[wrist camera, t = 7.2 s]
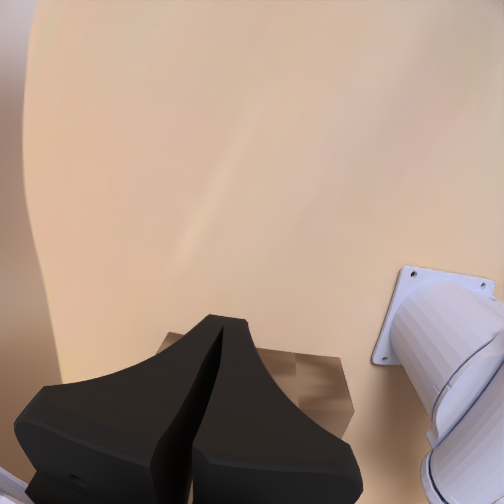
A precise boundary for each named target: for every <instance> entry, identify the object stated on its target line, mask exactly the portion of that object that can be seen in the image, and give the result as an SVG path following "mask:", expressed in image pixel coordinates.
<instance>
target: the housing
mask: <svg viewBox="0 0 504 504" xmlns="http://www.w3.org/2000/svg"><path fill="white" fill-rule="evenodd" d="M183 336H184V335H181V334H176V333H171V332H169V333H168V334H167V336H166V338H165V339H164V341H163V343H162V345H161V346H160V348H159V350H158V351H157V353H156V354H158V353H160V352H161V351H163V350H164V349H166V348H167V347H169V346H170V345H172V344H173V343H175V342H176V341H177V340H179V339H180V338H181V337H183ZM256 349H257V352H258V354H259V356H260V358H261V360H262V362H263V363H264V365H265V367H266V368H267V370H268V372H269V373H270V375H271V376H272V378H273V379H274V381H275V382H276V383H277V385H278V386H279V387H280V389H281V390H282V391H283V392H284V393H285V394H286V396H287V397H288V398H289V399H290V400H291V401H292V402H293V403H294V404H295V405H296V406H297V407H298V408H299V409H300V410H301V411H302V412H303V413H304V414H306V415H307V416H308V417H309V418H311V419H312V420H313V421H314V422H316V423H317V424H318V425H319V426H321V427H322V428H324V429H325V430H327V431H328V432H330V433H332V434H333V435H335V436H336V437H338V438H339V439H341V438H342V436H343V434H344V432H345V430H346V428H347V426H348V424H349V422H350V420H351V418H352V416H353V414H354V412H355V411H354V408H353V404H352V400H351V397H350V393H349V389H348V386H347V382H346V379H345V375H344V372H343V368H342V365H341V361H340V358H337V357H327V356H317V355H308V354H299V353H291V352H283V351H275V350H268V349H261V348H256ZM192 502H193V481H192V484H191V490H190V495H189V500H188V504H192Z"/></svg>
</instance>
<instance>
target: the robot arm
mask: <svg viewBox="0 0 504 504" xmlns="http://www.w3.org/2000/svg"><path fill="white" fill-rule="evenodd" d="M413 271H415V274H414V276H411V273H412V272H413ZM482 283H483V285H482ZM481 285H482V286H481ZM494 288H495V282H494V281H492V280H490V279H484V278H478V277H473V276H467V275H461V274H455V273H450V272H444V271H438V270H432V269H426V268H420V267H414V266H408V265H407V266H404V267H402V268H401V270H400V273H399V277H398V280H397V284H396V287H395V290H394V294H393V297H392V300H391V303H390V307H389V310H388V313H387V316H386V319H385V322H384V325H383V328H382V330H381V333H380V336H379V339H378V342H377V344H376V347H375V350H374V352H373V355H372V361H373V363H374V364H381V365H402V366H403V368H404V369H405V371H406V373H407V375H408V377H409V379H410V381H411V382H412V384H413V386H414V388H415V390H416V392H417V394H418V396H419V398H420V400H421V402H422V403H423V405H424V407H425V409H426V411H427V413H428V415H429V417H430V419H431V421H432V425H431V427H430V429H429V430H428V432H427V433H426V437H427V439H428V441H429V443H430V446H431V448H432V449H431V450H430V451H429V452H428V453H427V454H426V455H425V457H424V459H423V461H422V464H421V470H420V476H421V483H422V487H423V490H424V493H425V495H426V498H427V500H428V501H429V503H430V504H504V303H503V302H502V301H501V300H499V299H498V298H497V297H495V296H494V295H493V291H494ZM384 357H386V358H385V359H383V360H382V358H384ZM14 431H15V435H16V437H17V439H18V442H19V444H20V445H21V447H22V449H23V450H24V452H25V454H26V455H27V457H28V458H29V460H30V462H31V463H32V465H33V466H34V468H35V469H36V471H37V472H36V474H35V475H34V477H33V478H32V480H31V482H30V483H29V485H28V484H26V483H24V482H23V481H21V480H20V479H18V478H16V477H15V476H13V475H12V474H10V473H9V472H7V471H5V470H4V469H2V468H1V467H0V504H188V500H189V495H190V490H191V484H192V481H193V502H192V504H354V503H355V502H356V501H357V500H358V499H359V497H360V495H361V494H362V492H363V481H362V477H361V473H360V469H359V466H358V464H357V461H356V459H355V456H354V454H353V452H352V449H351V447H350V445H349V444H348V443H346V442H344V441H343V440H341V439H339V438H338V437H336V436H335V435H333V434H332V433H330V432H328V431H327V430H325V429H324V428H322V427H321V426H319V425H318V424H317V423H316V422H314V421H313V420H312V419H311V418H309V417H308V416H307V415H306V414H304V413H303V412H302V411H301V410H300V409H299V408H298V407H297V406H296V405H295V404H294V403H293V402H292V401H291V400H290V399H289V398H288V397H287V396H286V394H285V393H284V392H283V391H282V390H281V389H280V387H279V386H278V385H277V383H276V382H275V381H274V379H273V378H272V376H271V375H270V373H269V372H268V370H267V368H266V367H265V365H264V363H263V362H262V360H261V358H260V356H259V354H258V352H257V349H256V347H255V345H254V343H253V340H252V337H251V334H250V331H249V327H248V322H247V321H246V320H245V319H238V318H231V317H224V316H218V315H211V314H209V315H208V316H206V317H205V318H204V319H203V320H202V321H201V322H200V323H198V324H197V325H196V326H195V327H194V328H193V329H191V330H190V331H189V332H188V333H186V334H185V335H184V336H183V337H181V338H180V339H179V340H177V341H176V342H175V343H173V344H172V345H170V346H169V347H167V348H166V349H164V350H163V351H161V352H160V353H158V354H156V355H155V356H153V357H151V358H149V359H147V360H145V361H143V362H141V363H139V364H136V365H134V366H131V367H129V368H126V369H123V370H121V371H118V372H115V373H113V374H109V375H106V376H102V377H99V378H95V379H91V380H86V381H81V382H76V383H69V384H61V385H53V386H44V387H43V388H42V389H41V390H40V391H39V392H38V393H37V394H36V395H35V397H34V398H33V399H32V400H31V401H30V403H29V404H28V405H27V406H26V408H25V409H24V410H23V411H22V412H21V414H20V415H19V416H18V417H17V419H16V420H15V422H14Z"/></svg>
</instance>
